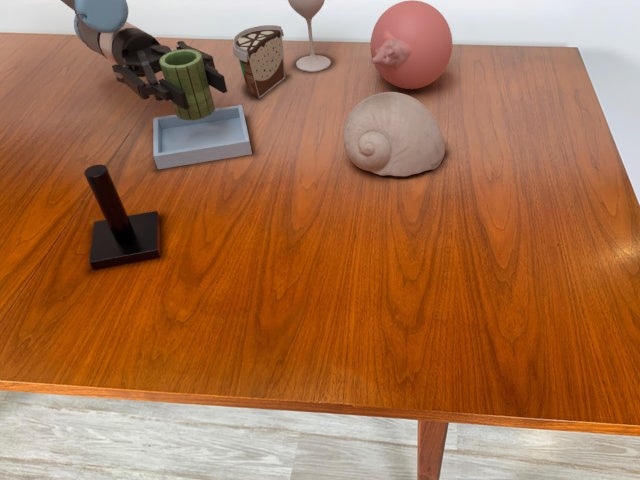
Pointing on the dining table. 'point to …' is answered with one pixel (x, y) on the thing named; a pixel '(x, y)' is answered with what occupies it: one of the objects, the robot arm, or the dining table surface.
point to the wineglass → (310, 35)
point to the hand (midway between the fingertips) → (204, 92)
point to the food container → (260, 58)
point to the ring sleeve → (188, 82)
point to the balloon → (411, 44)
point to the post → (119, 226)
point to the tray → (200, 138)
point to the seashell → (393, 135)
